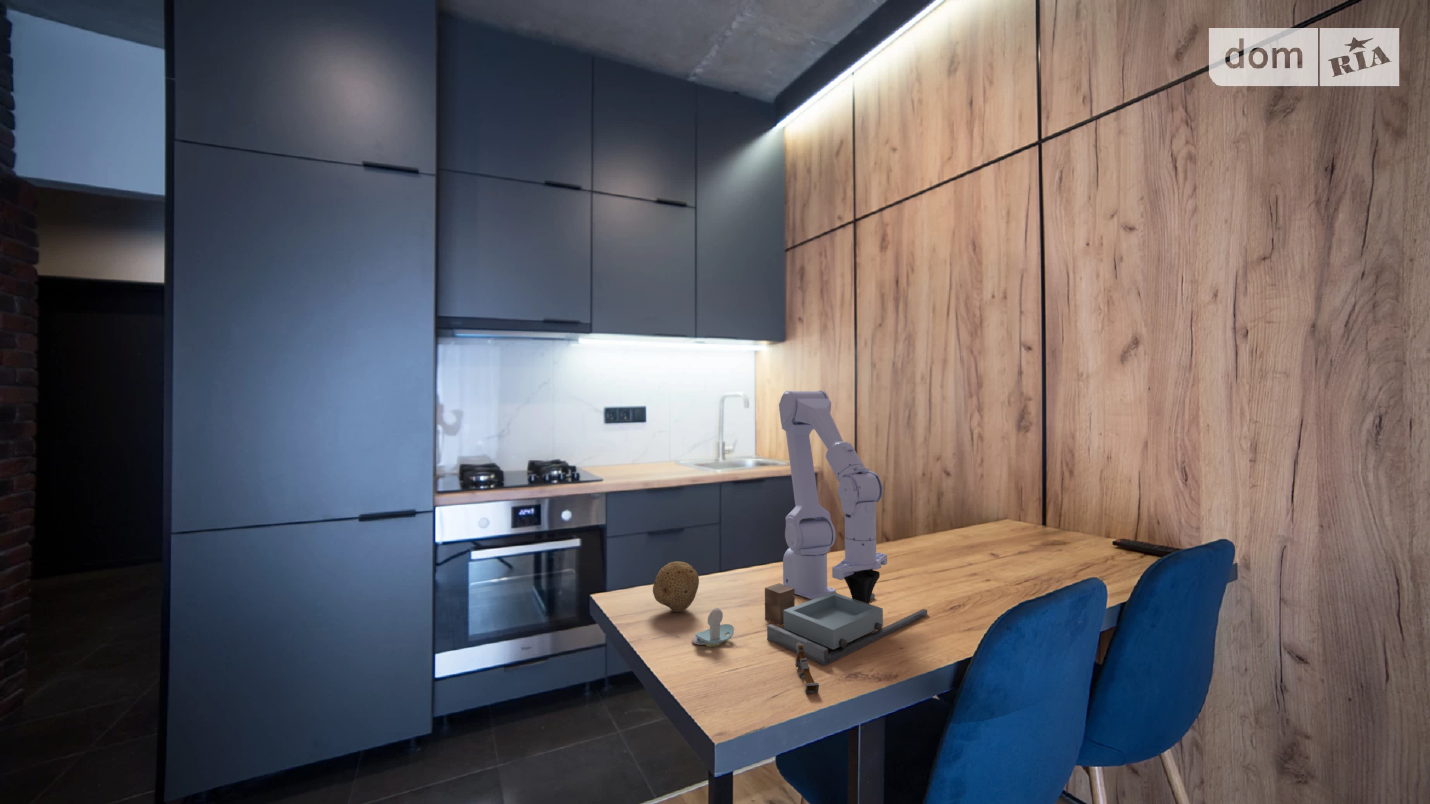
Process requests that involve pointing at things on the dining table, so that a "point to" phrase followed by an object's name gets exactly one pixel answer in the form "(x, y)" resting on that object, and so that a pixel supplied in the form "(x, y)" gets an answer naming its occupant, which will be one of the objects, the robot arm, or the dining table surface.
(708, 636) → the pacifier
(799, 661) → the wooden post with brackets
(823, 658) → the rail
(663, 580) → the natural sponge
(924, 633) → the dining table surface
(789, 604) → the walnut block
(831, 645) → the cart
